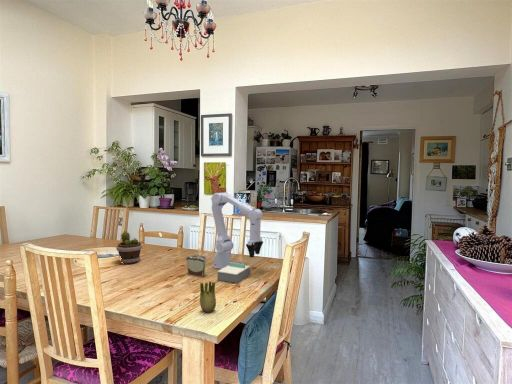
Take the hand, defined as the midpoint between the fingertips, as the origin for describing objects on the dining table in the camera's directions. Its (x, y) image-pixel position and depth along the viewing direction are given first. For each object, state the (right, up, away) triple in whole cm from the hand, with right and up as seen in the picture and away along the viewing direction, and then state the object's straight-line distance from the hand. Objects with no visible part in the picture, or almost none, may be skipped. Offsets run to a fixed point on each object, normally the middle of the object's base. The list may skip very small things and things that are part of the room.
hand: (254, 255), depth 178 cm
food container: (-31, -10, -3) cm, 32 cm away
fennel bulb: (-18, -13, -49) cm, 54 cm away
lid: (-11, -6, -7) cm, 14 cm away
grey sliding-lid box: (-11, -10, -7) cm, 17 cm away
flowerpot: (-77, -8, +19) cm, 79 cm away
